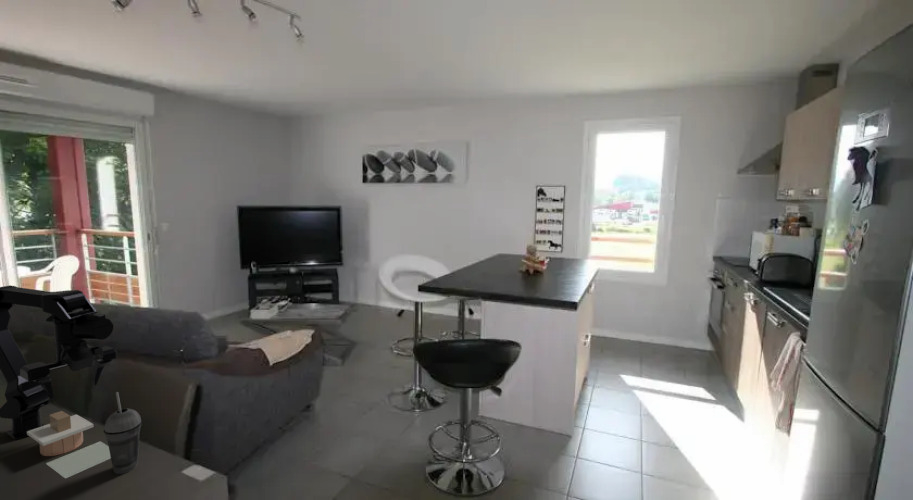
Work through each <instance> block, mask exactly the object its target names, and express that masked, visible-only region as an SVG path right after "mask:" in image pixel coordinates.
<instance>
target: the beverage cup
mask: <svg viewBox="0 0 913 500" xmlns="http://www.w3.org/2000/svg"><path fill="white" fill-rule="evenodd" d="M115 396H116V403H117V409H118V410H116V411H115V412H112V414H110V415H109V417H108V418H107V419H106V421H105V424H104V427H103V428H104V429H103V433H104V436H105V438H106V441H107V444H108V445H107V446H109V451H110V456H111V459H110V461H111V465H112V469H113V473H114V474H115V475H116V474H117V475H122V474H126V473H129V472H131V471H133V470H135V469H136V468H137V467H138V463H139V454H140V453H139V451H140V450H139V449H140V431H141V427H142V423H143V420H142V417H141V415H140V413H139V412H138V411H137V410H135V409H133V408H122V405H121V401H120V395H119V391H116V392H115Z"/></svg>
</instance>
